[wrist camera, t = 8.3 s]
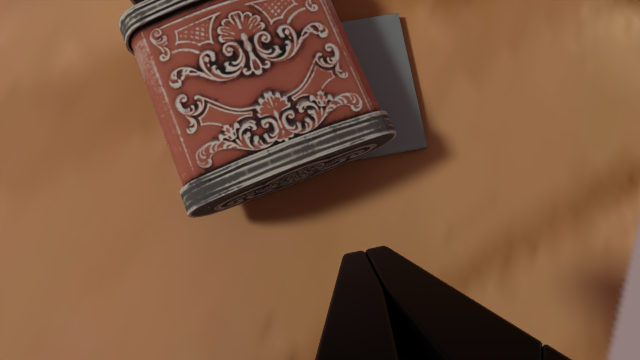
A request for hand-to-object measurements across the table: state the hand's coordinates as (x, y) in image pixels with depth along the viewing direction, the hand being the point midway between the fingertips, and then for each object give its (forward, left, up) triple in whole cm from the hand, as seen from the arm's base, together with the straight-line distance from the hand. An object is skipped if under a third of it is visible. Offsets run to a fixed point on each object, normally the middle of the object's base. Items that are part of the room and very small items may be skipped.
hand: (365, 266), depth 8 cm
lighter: (+3, +1, -7) cm, 8 cm away
